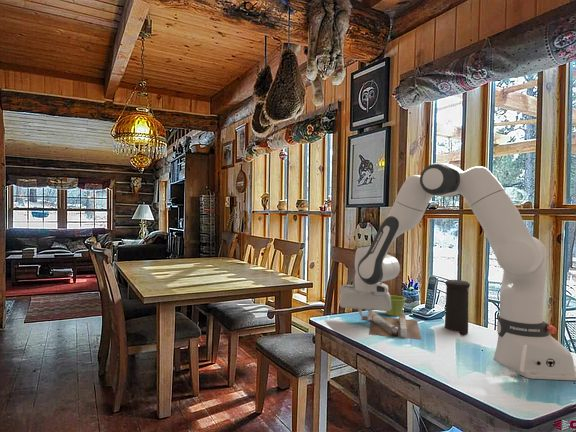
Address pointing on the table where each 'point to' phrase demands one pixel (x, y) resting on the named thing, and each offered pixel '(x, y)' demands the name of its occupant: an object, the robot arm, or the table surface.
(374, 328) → the walnut board
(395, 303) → the plant pot
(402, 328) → the fixed tong leg
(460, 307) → the container
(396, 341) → the table surface
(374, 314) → the loose tong leg
